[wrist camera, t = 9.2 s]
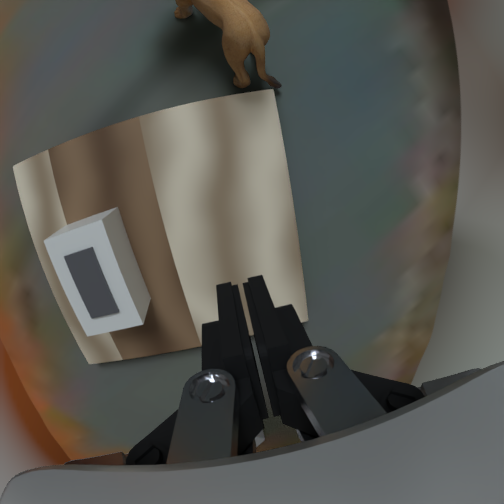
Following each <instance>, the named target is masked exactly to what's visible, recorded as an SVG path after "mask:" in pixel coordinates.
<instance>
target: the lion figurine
mask: <svg viewBox="0 0 504 504" xmlns="http://www.w3.org/2000/svg"><path fill="white" fill-rule="evenodd" d="M175 1H176V4H177V5H178V6H179V7H177V8H176V10H175V12H174V13H175V17H176V18H187V17H189V16H190V15H192V12H193V10H192V5H194V6H195V7H196V8H197V9H198V10H199V11H200V12H201V13H202V14H203V15H204V16H205V17H206V18H207V19H208V20H209V21H211V22H212V23H213V24H215V25H216V26H218V27H220V28H221V29H222V31H223V35H222V47H223V50H224V55H225V57H226V60H227V62H228V63H229V65H230V66H231V68H232V69H233V71H234V72H235V73H236V74H235V76H234V78H233V83H234V84H235V86H237V87H239V88H245V87H247V86H248V85H250V77H249V74H248V73H247V71H246V70H245V68H244V60H245V59H246V58H247V56H248V55H249V53H250V52H252V54H253V55H254V56H255V58H256V67H257V71H258V75H259V76H260V78H261V79H263V80H264V81H266V82H267V83H268V84H269V85H270V86H271V87H274V88H280V87H281V83H280V82H278V81H277V80H276V79H275V78H274V77H272V76H269V75H267V74H266V73H265V47H264V46H265V45H266V43H267V42H268V40H269V37H270V31H269V27H268V25H267V22H266V20H265V19H264V18H263V16H262V14H261V13H260V12H259V10H258V9H256V8H255V7H254V6H253V5H251V4H250V3H249V2H248V1H247V0H175Z"/></svg>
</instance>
